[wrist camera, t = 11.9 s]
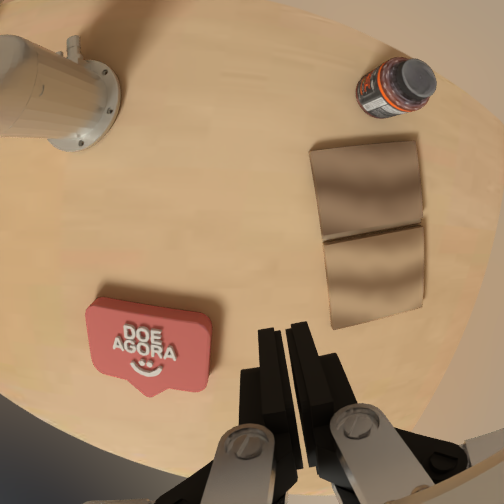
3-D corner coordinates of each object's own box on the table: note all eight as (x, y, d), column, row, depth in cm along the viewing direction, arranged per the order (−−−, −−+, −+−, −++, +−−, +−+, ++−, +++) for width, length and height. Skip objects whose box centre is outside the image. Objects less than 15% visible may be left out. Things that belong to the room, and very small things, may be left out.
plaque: (95, 387, 40) (81, 304, 36) (103, 373, 43) (93, 293, 39) (205, 409, 40) (210, 326, 36) (208, 393, 44) (214, 312, 40)
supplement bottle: (360, 67, 31) (400, 37, 20) (400, 88, 31) (449, 68, 20) (347, 107, 32) (387, 87, 21) (389, 127, 33) (439, 118, 22)
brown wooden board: (308, 151, 34) (310, 151, 33) (410, 141, 33) (415, 140, 32) (322, 239, 37) (324, 242, 36) (419, 221, 36) (423, 223, 35)
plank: (322, 242, 37) (324, 245, 36) (419, 224, 36) (423, 226, 35) (330, 325, 40) (333, 330, 39) (418, 303, 40) (422, 307, 39)
